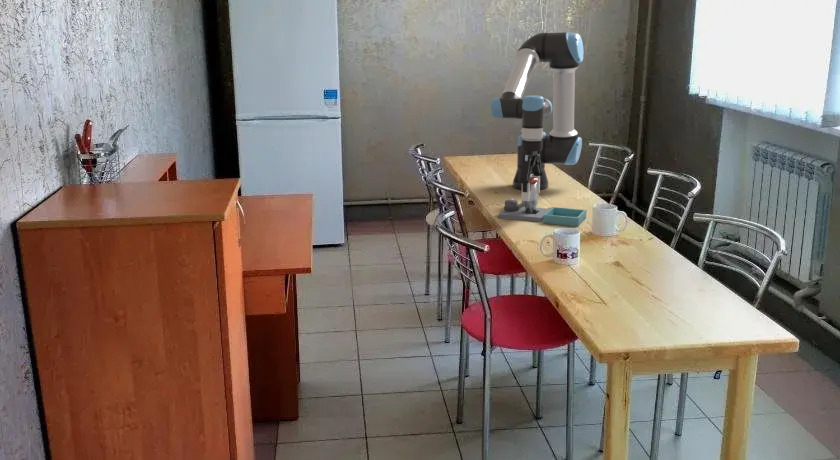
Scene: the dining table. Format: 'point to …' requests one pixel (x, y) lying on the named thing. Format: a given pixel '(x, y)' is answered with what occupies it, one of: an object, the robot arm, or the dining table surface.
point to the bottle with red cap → (531, 197)
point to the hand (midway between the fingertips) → (530, 197)
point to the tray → (565, 216)
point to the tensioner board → (521, 212)
